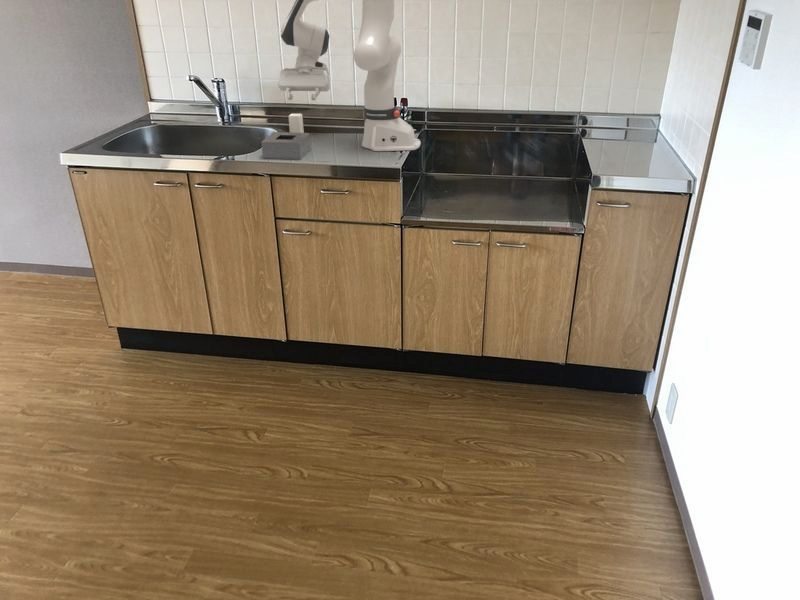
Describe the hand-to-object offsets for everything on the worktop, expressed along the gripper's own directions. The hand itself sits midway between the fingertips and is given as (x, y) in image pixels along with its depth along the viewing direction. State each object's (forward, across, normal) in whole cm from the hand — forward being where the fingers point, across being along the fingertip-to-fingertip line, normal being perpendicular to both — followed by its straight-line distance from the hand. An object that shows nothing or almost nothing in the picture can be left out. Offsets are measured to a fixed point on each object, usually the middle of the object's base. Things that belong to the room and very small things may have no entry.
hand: (301, 99), depth 261 cm
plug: (+18, 0, +3) cm, 18 cm away
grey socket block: (+27, 0, -7) cm, 28 cm away
